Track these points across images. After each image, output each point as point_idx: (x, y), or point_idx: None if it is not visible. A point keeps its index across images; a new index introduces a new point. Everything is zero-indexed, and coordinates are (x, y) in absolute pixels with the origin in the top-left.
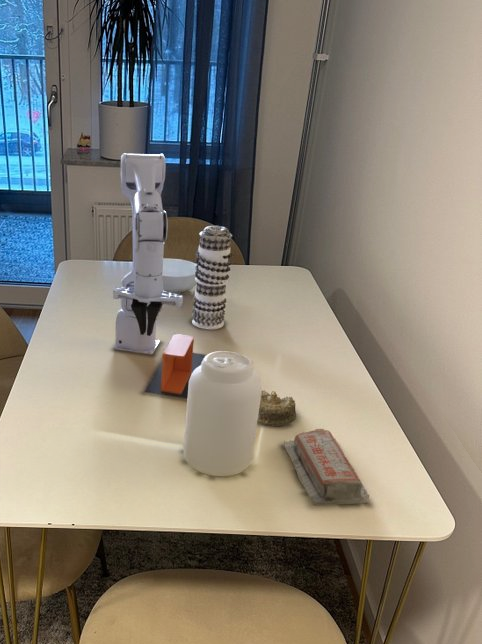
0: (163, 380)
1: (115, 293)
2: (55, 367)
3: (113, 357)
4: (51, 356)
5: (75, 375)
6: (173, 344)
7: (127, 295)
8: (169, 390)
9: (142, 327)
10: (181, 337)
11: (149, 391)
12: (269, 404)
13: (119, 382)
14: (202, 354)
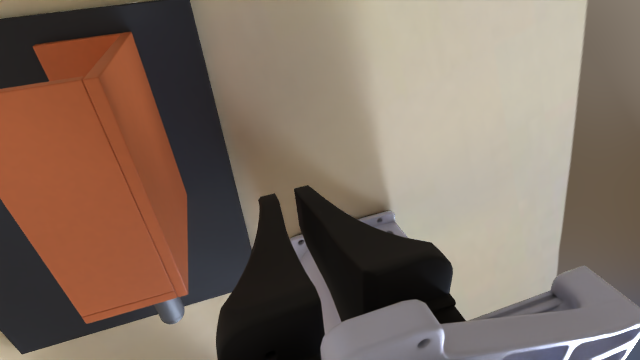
0: (113, 43)
1: (612, 301)
2: (516, 38)
3: (381, 175)
4: (534, 94)
5: (454, 16)
6: (117, 207)
7: (536, 323)
8: (90, 40)
9: (309, 205)
10: (132, 285)
11: (171, 9)
12: None
13: (310, 38)
14: (156, 313)
